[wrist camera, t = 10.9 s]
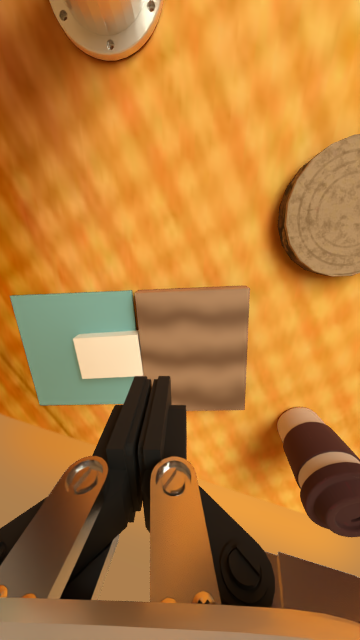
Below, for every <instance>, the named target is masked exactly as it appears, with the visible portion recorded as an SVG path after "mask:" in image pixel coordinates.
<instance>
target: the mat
mask: <svg viewBox="0 0 360 640" xmlns="http://www.w3.org/2000/svg"><path fill="white" fill-rule="evenodd" d="M10 298H11V302H12V306H13V309H14V313H15V316H16V320H17V324H18V327H19V331H20V335H21V338H22V342H23V345H24V349H25V353H26V356H27V360H28V364H29V367H30V371H31V374H32V378H33V382H34V385H35V389H36V393H37V396H38V400H39V403H40V405H83V404H124V402H125V399H126V397H127V394H128V392H129V389H130V387H131V384H132V381H133V379H134V377H135V376H132V377H112V378H92V379H82V375H81V371H80V367H79V363H78V358H77V354H76V350H75V346H74V341H73V338H75V337H76V336H77V335H78V334H88V333H104V332H120V331H136V321H135V312H134V304H133V295H132V290H131V291H107V292H84V293H61V294H38V295H15V296H10Z"/></svg>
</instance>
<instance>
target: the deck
mask: <svg viewBox="0 0 360 640" xmlns="http://www.w3.org/2000/svg"><path fill="white" fill-rule="evenodd" d="M249 294H250V288H248V287H247V286H224V287H200V288H177V289H154V290H138V291H137V292H136V293H135V300H136V309H137V318H138V327H139V337H140V346H141V355H142V364H143V373H144V376H147V379H151V382H152V385H153V381H154V379H158V377H159V376H170V378H171V400H172V405H186V411H211V410H245V388H246V365H247V341H248V318H249Z"/></svg>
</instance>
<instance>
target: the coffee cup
mask: <svg viewBox="0 0 360 640" xmlns="http://www.w3.org/2000/svg"><path fill="white" fill-rule="evenodd" d="M277 429H278V432H279V435H280V437H281V440H282V442H283V447H284V451H285V454H286V456H287V459H288V461H289V464H290V466H291V469H292V471H293V474H294V477H295V479H296V482H297V484H298V486H299V487H300V489H301V492H300V497H301V502H302V504H303V506H304V509H305V511H306V513H307V515H308V516H309V518H310V519H311V520H312V521H313V522H315V523H316V524H318V525H319V526H321V527H324V528H327V529H330V530H331V531H333V532H334V533H336V534H338V535H341V536H346V537H359V536H360V459H359V458H358V457H357V456H356V455H355V454H354V453H353V451H352V450H351V449H350V448H349V447H348V446H347V445H346V444H345V443H344V442H343V441H342V440H341V438H340V437H339V436H338V435H337V434H336V433H335V432H334V431H333V430H332V429H331V428H330V427H329V426H327V425H326V424H325V423H324V422H323V421H322V420H321V419H320V418H319V417H318V415H317V414H316V413H315V412H313V411H312V410H310V409H308V408H303V407H297V408H292V409H290V410H287V411H286V412H284V413H283V414H282V415H281V416H280V418H279V420H278V423H277Z"/></svg>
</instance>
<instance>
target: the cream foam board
mask: <svg viewBox="0 0 360 640" xmlns="http://www.w3.org/2000/svg"><path fill="white" fill-rule="evenodd" d="M73 341H74V346H75V350H76V354H77V358H78V363H79V367H80V371H81V375H82V379H92V378H112V377H132V376H144V373H143V364H142V355H141V346H140V337H139V330H136V331H120V332H104V333H88V334H78V335H77V336H76V337H75V338H73Z"/></svg>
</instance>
